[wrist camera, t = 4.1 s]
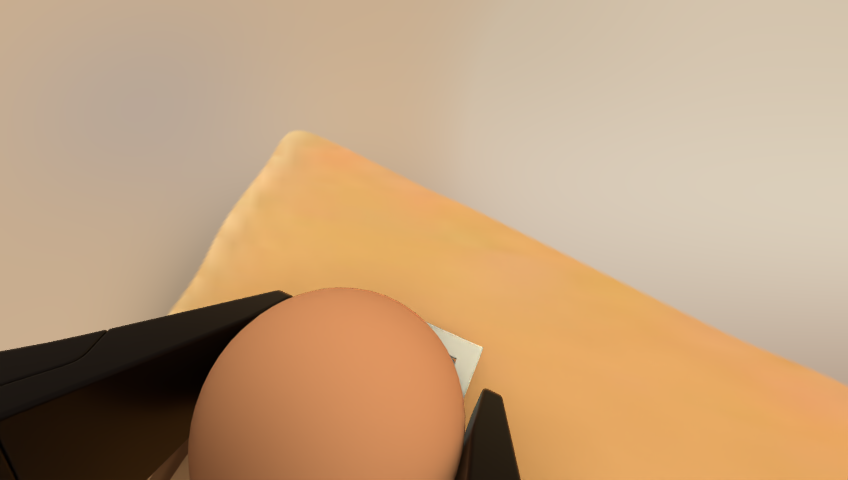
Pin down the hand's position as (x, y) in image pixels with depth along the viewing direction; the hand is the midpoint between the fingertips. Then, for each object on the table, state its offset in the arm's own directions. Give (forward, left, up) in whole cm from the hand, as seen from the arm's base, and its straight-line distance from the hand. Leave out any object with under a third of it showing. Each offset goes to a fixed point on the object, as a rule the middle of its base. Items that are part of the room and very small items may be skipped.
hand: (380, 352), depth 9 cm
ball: (-1, 0, +1) cm, 2 cm away
